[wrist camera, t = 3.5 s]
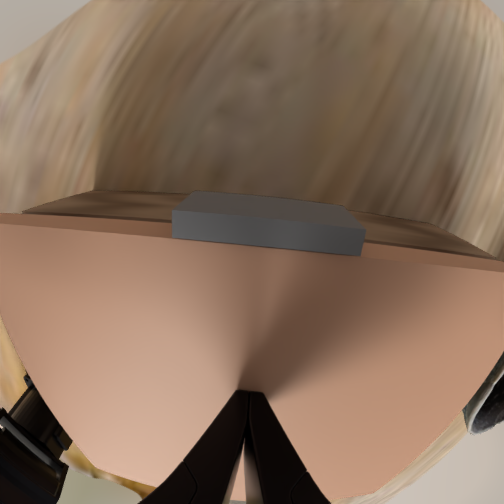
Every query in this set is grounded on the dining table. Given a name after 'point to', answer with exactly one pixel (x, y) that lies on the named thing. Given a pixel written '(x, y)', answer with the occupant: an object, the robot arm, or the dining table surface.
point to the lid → (247, 333)
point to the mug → (487, 402)
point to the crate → (162, 204)
